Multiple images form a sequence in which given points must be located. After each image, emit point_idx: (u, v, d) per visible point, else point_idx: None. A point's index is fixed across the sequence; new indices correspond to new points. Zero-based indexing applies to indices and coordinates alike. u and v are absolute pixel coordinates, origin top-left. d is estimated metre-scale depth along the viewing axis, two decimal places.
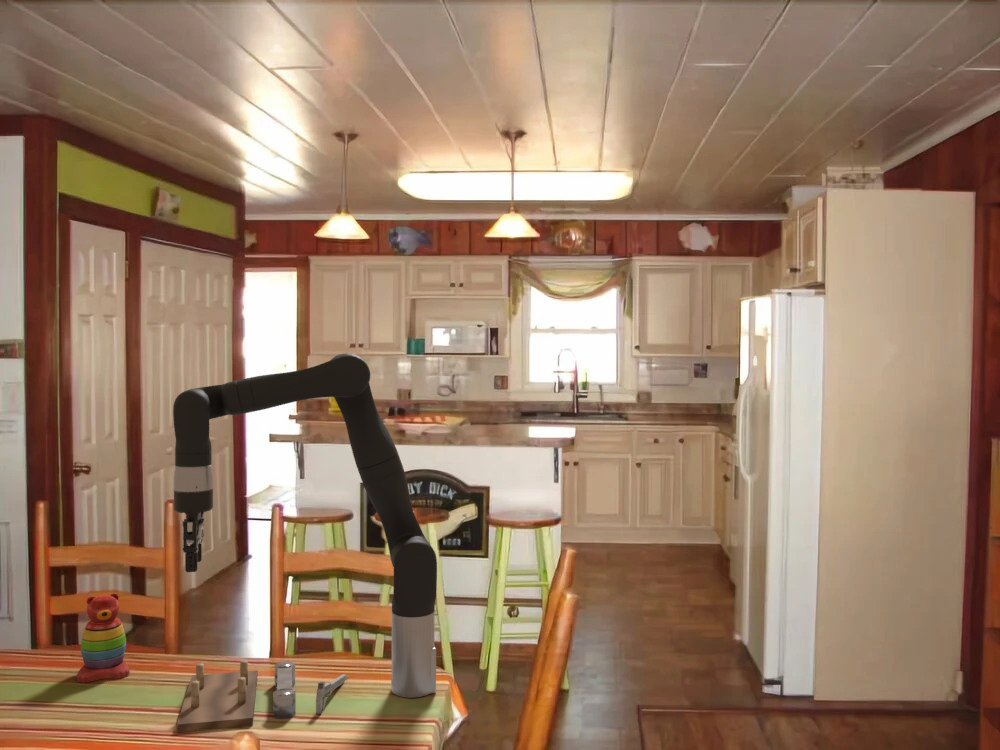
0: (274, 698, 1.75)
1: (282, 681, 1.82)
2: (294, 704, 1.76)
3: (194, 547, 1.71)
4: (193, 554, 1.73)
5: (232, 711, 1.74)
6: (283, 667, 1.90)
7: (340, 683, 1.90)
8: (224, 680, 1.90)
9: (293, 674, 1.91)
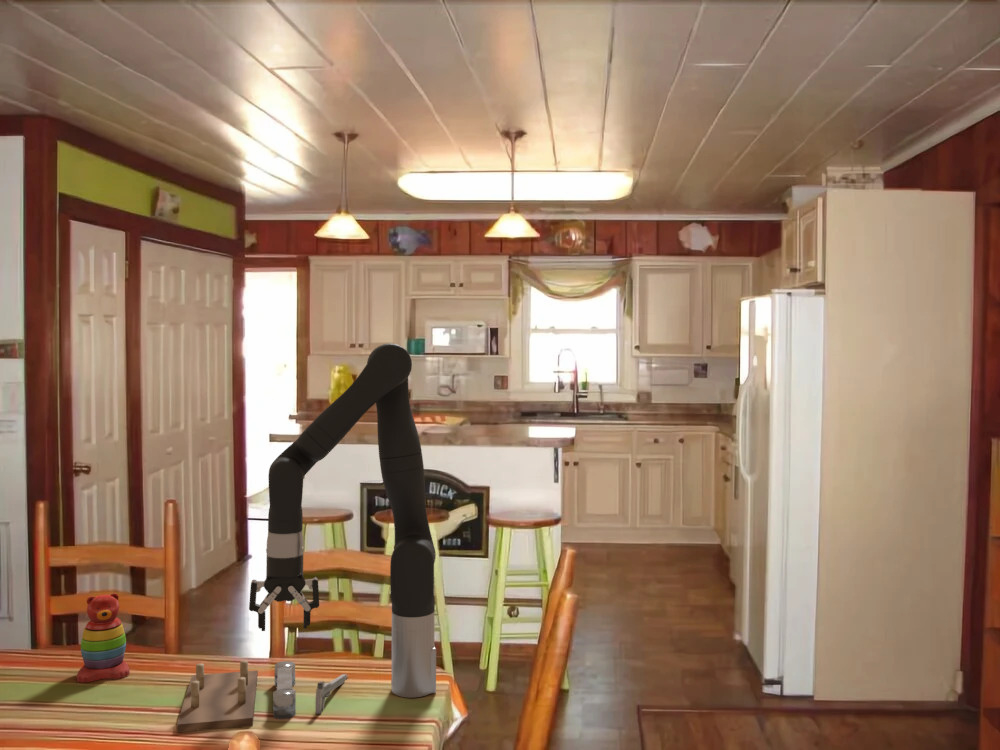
0: (274, 698, 1.75)
1: (282, 681, 1.82)
2: (294, 704, 1.76)
3: None
4: None
5: (232, 711, 1.74)
6: (283, 667, 1.90)
7: (340, 683, 1.90)
8: (224, 680, 1.90)
9: (293, 674, 1.91)
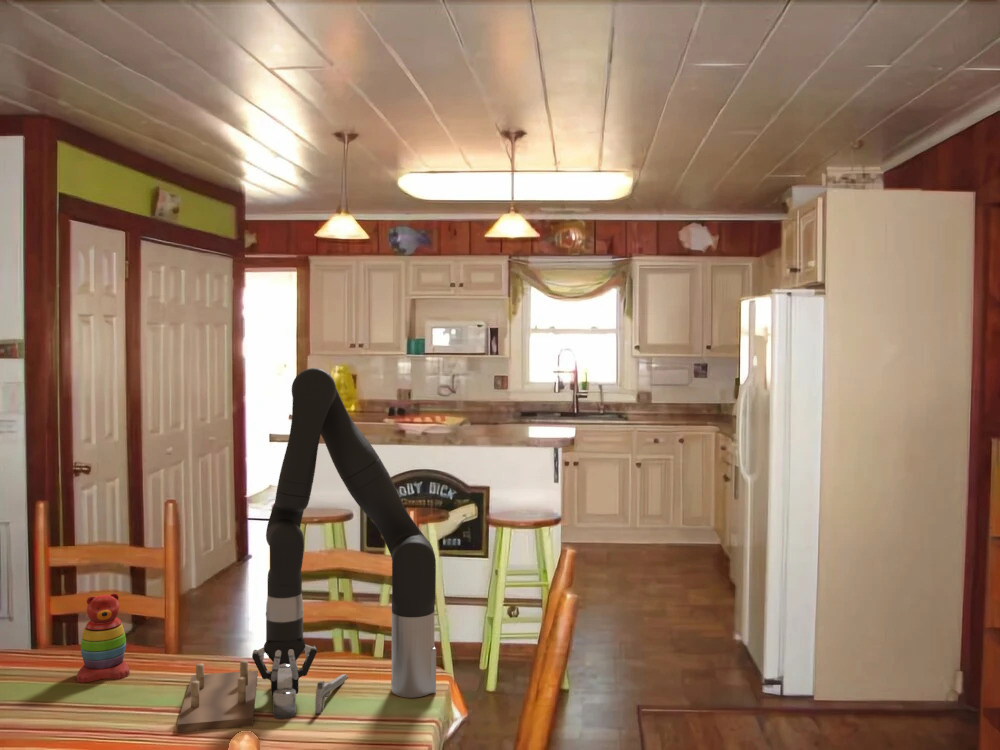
0: (274, 697, 1.75)
1: (282, 680, 1.82)
2: (294, 703, 1.76)
3: None
4: None
5: (232, 711, 1.74)
6: (283, 667, 1.90)
7: (340, 683, 1.91)
8: (224, 680, 1.90)
9: None
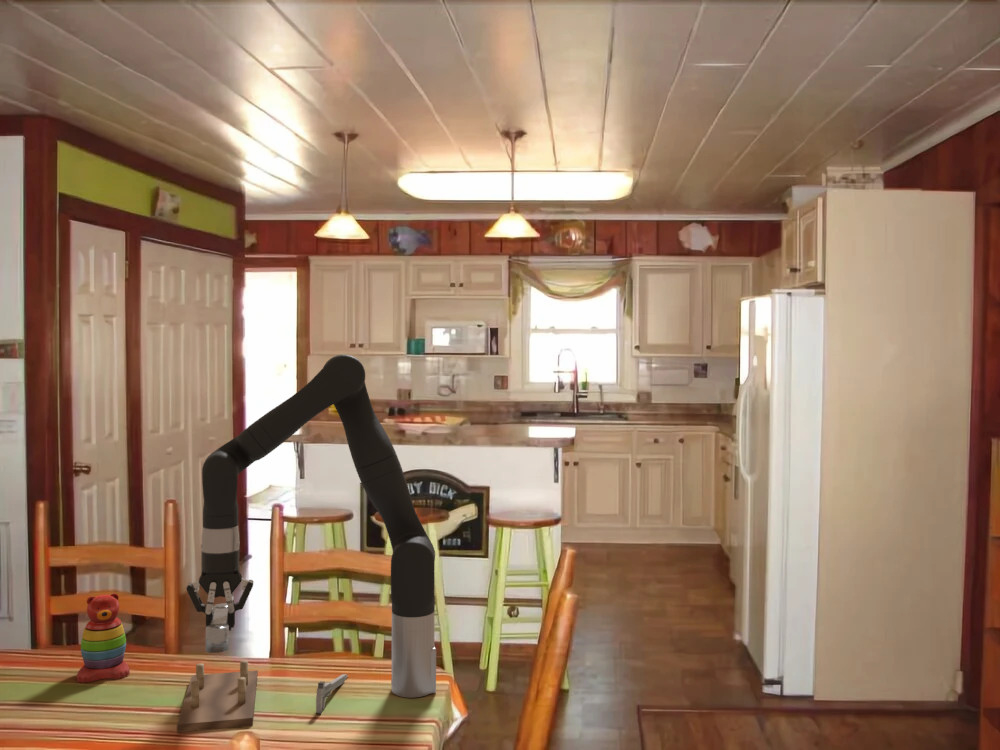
0: (206, 632, 1.72)
1: (217, 618, 1.80)
2: (227, 638, 1.73)
3: None
4: None
5: (232, 711, 1.74)
6: (221, 607, 1.88)
7: (340, 683, 1.91)
8: (224, 680, 1.90)
9: None
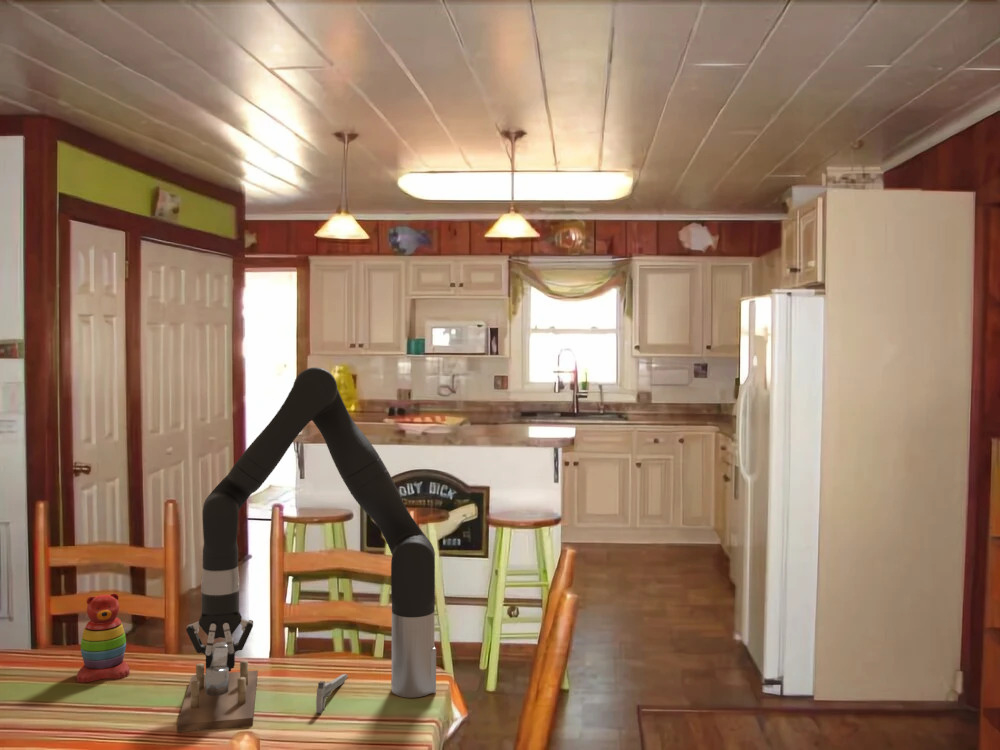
0: (206, 674, 1.73)
1: (217, 659, 1.80)
2: (226, 681, 1.74)
3: None
4: None
5: (232, 711, 1.74)
6: (221, 647, 1.88)
7: (340, 683, 1.91)
8: None
9: None
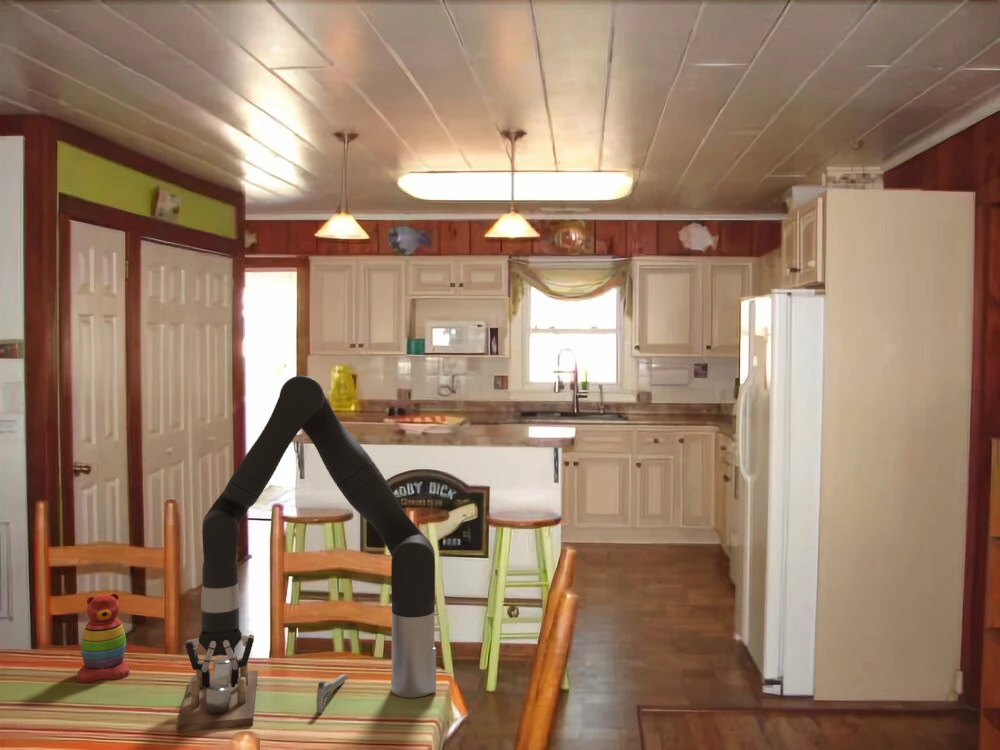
0: (206, 694, 1.73)
1: (218, 677, 1.80)
2: (227, 700, 1.74)
3: None
4: None
5: (232, 711, 1.74)
6: (221, 663, 1.88)
7: (340, 683, 1.91)
8: None
9: None
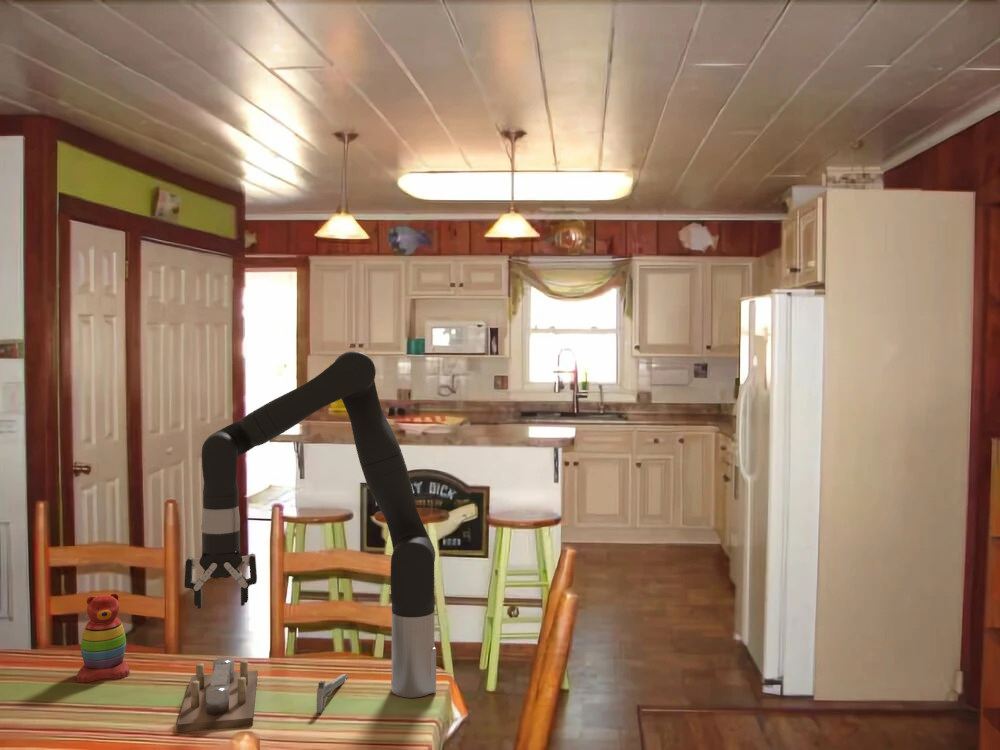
0: (206, 694, 1.73)
1: (218, 677, 1.80)
2: (227, 700, 1.74)
3: (256, 577, 1.84)
4: None
5: (232, 711, 1.74)
6: (221, 663, 1.88)
7: (340, 683, 1.91)
8: None
9: (232, 670, 1.89)
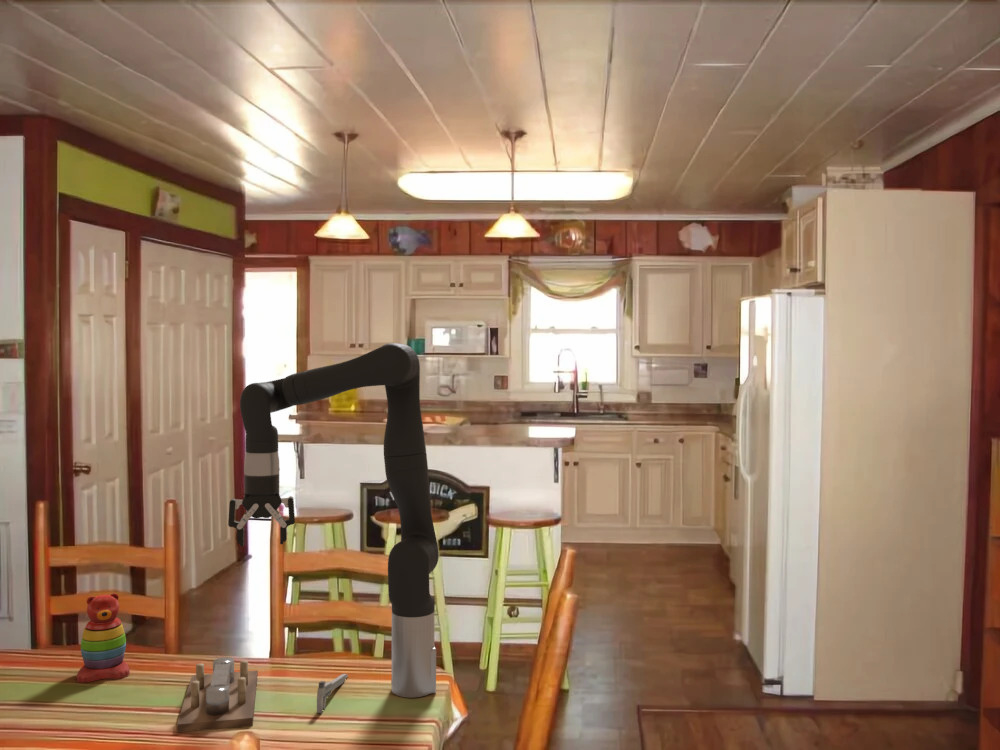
0: (206, 694, 1.73)
1: (218, 677, 1.80)
2: (227, 700, 1.74)
3: None
4: None
5: (232, 711, 1.74)
6: (221, 663, 1.88)
7: (340, 682, 1.91)
8: None
9: (232, 670, 1.89)
